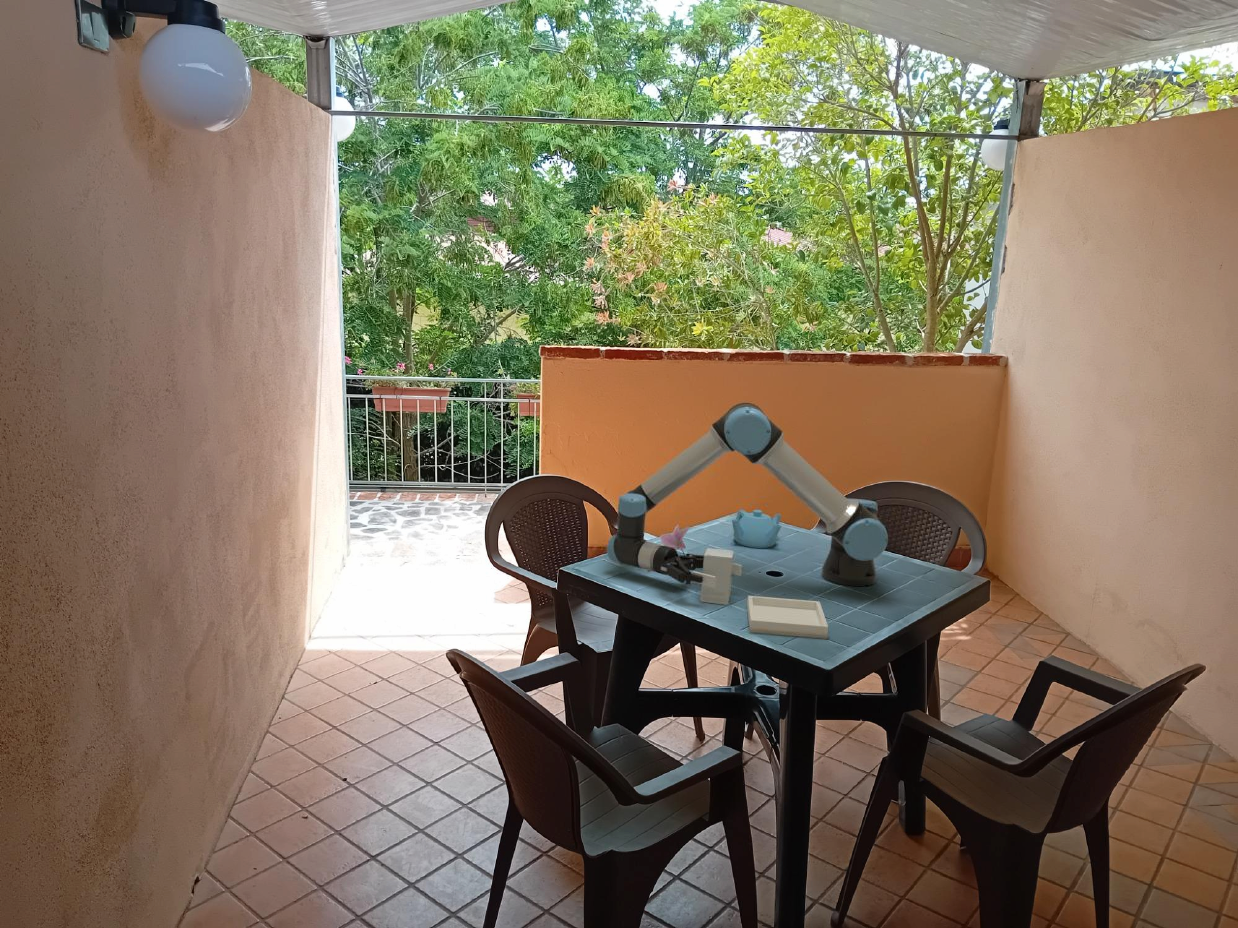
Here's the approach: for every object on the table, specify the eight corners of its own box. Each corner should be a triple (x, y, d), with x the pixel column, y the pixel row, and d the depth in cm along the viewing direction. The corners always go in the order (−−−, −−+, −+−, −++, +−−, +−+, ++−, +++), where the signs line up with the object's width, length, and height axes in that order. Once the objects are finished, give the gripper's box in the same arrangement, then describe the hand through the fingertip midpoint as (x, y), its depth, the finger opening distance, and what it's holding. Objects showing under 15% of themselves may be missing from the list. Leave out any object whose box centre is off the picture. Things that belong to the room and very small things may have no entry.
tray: (818, 612, 238) (819, 601, 237) (826, 638, 220) (828, 626, 220) (746, 606, 239) (747, 595, 239) (749, 632, 222) (750, 620, 221)
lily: (660, 552, 287) (650, 528, 282) (696, 540, 286) (687, 515, 281) (664, 576, 276) (653, 551, 272) (702, 563, 275) (692, 538, 271)
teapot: (780, 539, 306) (783, 507, 304) (778, 552, 291) (781, 518, 289) (733, 534, 309) (736, 503, 307) (729, 546, 294) (732, 513, 292)
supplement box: (728, 605, 240) (732, 557, 237) (699, 602, 241) (703, 554, 239) (730, 596, 247) (734, 550, 244) (702, 593, 248) (706, 547, 246)
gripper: (682, 562, 264) (749, 579, 252) (631, 582, 243) (702, 601, 232) (684, 536, 262) (752, 552, 250) (633, 554, 242) (704, 572, 230)
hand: (728, 576), depth 241 cm, fingers open, 13 cm apart
